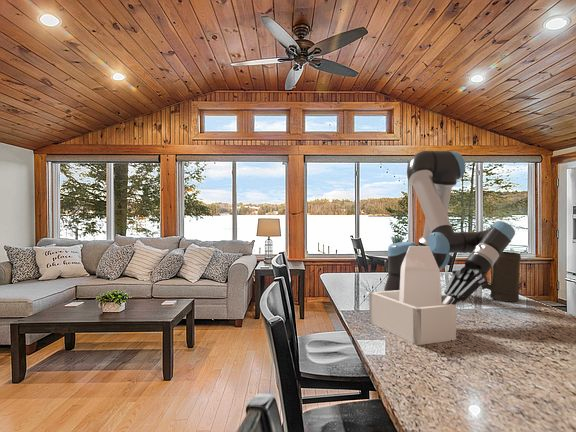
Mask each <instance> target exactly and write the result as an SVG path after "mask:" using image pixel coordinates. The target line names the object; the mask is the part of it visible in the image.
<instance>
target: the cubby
mask: <svg viewBox="0 0 576 432" xmlns="http://www.w3.org/2000/svg"><path fill="white" fill-rule="evenodd" d="M399 293H400V290H394V291H384V290H382V291H370V292H369V297H368V299H369V300H368V301H369V303H368V304H369V305H368V306H369V307H368V308H369V309H368V310H369V323H371V324H372V325H374V326H376V327H379V328H381V329H382V330H385V331H387V332H389V333H390V334H393V335H395V336H397V337H399V338H401V339H402V340H405V341H407V342H409V343H411V344H413V345H414V346H415V345H416V346H421V345H428V344H437V343H443V342H451V340H452V341H457V305H456V304H455V305H454V304H448V305H438V306H428V307H415V306H412V305H409V304H406V303H403V302H400V301H399Z"/></svg>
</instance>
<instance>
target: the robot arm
mask: <svg viewBox="0 0 576 432" xmlns="http://www.w3.org/2000/svg"><path fill="white" fill-rule="evenodd" d="M464 159H465V158H463V155H462V154H461V153H459V152H457V151H453V150H452V151H451V150H422V151H419V152H417V153H416V154H414V155H413V156H412V157H411V158H410V160H409V162H408V164H407V168H406V176H407V177H406V178H407V180H408V183H409V185H411V186H413V188H414V191H415V194H416V196H417V199H418V202H419V204H420V206H421V210H422V213H423V215H424V217H425V218H424V219H425V220H424V226H423V234H422V236H421V237H420V238H418V242H417V243H418V244H416V243H415V241H399V242H394V243H391V244H390V245H388V249H387V268H388V269H387V279H386V283H385V285H384V288H383V289H384V290H383V291H394V290H400V272H401V265H402V262H403V260H404V258H405V255H406V253H407V251H408V248H409V246H429V247H430V249H431V251H432V254H433V256H434V258H435V260H436V263H437V265H438V268H439V271H440V270H442V269H445V268H446V267H447V266H448V263H449V261H450V256H451V255H450V254H456V253H457V254H458V253H459V254H469V255H468V257H467V258H466V259H465V261H464V266H463V267H462V268H461V269H460V270H459V271H456V270H453V271H452V274H451V277H450V279H449V281H448V283H447V285H446V286H445V289H444V291H443V293H444V294H445V295H446V296H445V298H444V299H443V300H442V305H448V304H454V305H456V304H458V302H460V301H461V302H465V301H467V299H468V298H469V297H470V296H472V294H473V293H475V291H477V290H478V289H479V288H481V286H482V285H483V284H484V283H486V280H485V279H484V278H483V275H487V274H488V272H489V271H490V270H491V269H492V267H493V265H494V263H495V262H496V260H497V259H498V258H499V256H500V255H501V253H502V252H505V249H506V248H507V247H508V245H509V244H510V243H511V242H512V240H513V238H514V237H515V235H516V231H515V229H514V227H513V226H511V225H510V223H507V222H505V221H502V220H497V221H495V222H494V223H493V224H492V225H490V227H489V228H488V229H484V230H480V231H455V230H454V229H453V226H452V224H451V222H450V219H449V216H448V213H449V207H450V199H451V193H452V189H453V188H454V186H456V185H457V182H458V180H460V179H461V178H463V176H464V174H465V172H466V163H465V160H464Z"/></svg>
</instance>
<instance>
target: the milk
mask: <svg viewBox="0 0 576 432" xmlns="http://www.w3.org/2000/svg"><path fill="white" fill-rule="evenodd" d="M441 279H442V278H441V271H440V270H439V268H438V265H437V263H436V260H435V258H434V256H433V254H432V251H431V249H430V247H429V246H409V248H408V251H407V253H406V255H405V258H404V260H403V262H402V265H401V272H400V293H399V301H400V302H403V303H406V304H409V305H412V306H415V307H428V306H438V305H442V302H443V300H442V284H441V282H442V281H441Z"/></svg>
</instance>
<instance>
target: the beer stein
mask: <svg viewBox="0 0 576 432" xmlns="http://www.w3.org/2000/svg"><path fill="white" fill-rule="evenodd" d="M521 258H522V257H521V253H520V252H519V253H518V252H511V251H503V252H502V253H501V255H500V256H499V258H498V259H497V260H496V262H495V263H494V265H493V266H492V268H491V269H492V270H491V281H490V282H491V283H490V284H489V282H488V279H487V276H486V275H487V274H486V275H483V278H484V279H485V280H486V283H484V284H483V285H481V286H480V288H481V289H482V290H489V291H490V295H489V297H490V298H492V299H494V300H497V301H504V302H515V303H516V302H519V301H520V296H519V294H520V263H521Z"/></svg>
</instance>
